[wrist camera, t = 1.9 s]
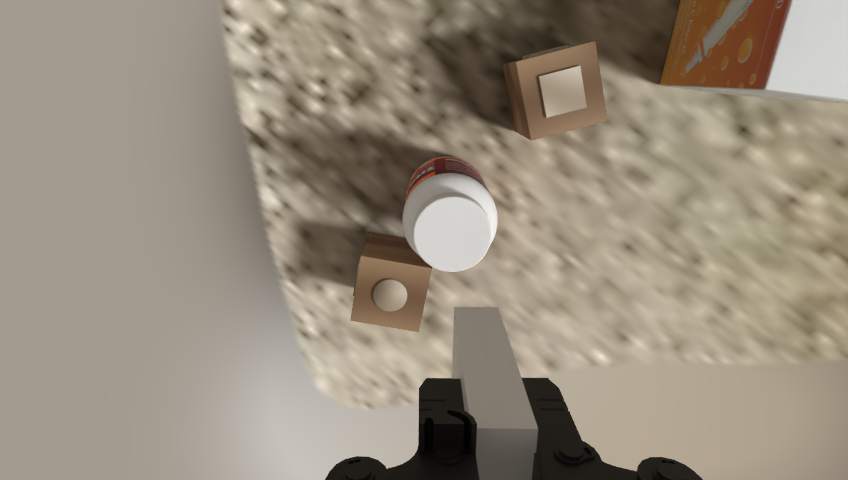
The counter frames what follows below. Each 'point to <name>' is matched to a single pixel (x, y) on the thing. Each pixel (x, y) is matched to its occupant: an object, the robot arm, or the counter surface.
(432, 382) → the robot arm
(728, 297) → the counter surface
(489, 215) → the pill bottle
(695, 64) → the small box
